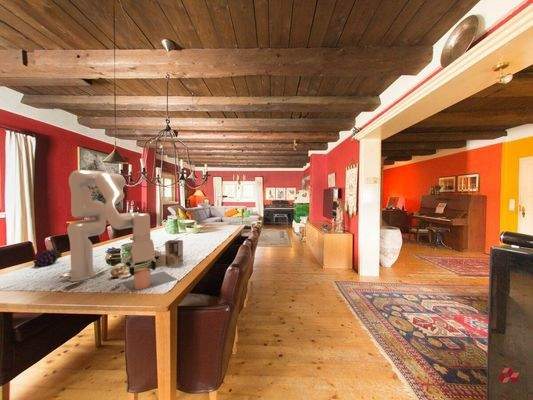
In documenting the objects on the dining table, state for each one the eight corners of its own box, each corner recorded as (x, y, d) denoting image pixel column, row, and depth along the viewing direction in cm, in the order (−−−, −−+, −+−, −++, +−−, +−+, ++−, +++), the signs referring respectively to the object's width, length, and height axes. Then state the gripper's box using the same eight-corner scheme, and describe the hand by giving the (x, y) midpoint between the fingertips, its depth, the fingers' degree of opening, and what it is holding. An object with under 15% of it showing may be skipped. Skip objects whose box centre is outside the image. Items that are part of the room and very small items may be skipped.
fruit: (32, 272, 140) (53, 259, 155) (48, 270, 140) (68, 257, 154) (24, 258, 137) (47, 246, 152) (41, 255, 137) (62, 244, 151)
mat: (132, 294, 106) (132, 292, 106) (120, 283, 118) (120, 282, 118) (177, 280, 122) (177, 279, 122) (163, 272, 134) (163, 271, 134)
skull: (139, 272, 132) (130, 262, 125) (128, 289, 125) (118, 280, 117) (122, 269, 134) (112, 260, 127) (111, 286, 127) (99, 277, 120)
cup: (137, 290, 109) (137, 273, 108) (132, 286, 113) (132, 270, 113) (152, 285, 114) (152, 270, 113) (147, 282, 118) (146, 266, 118)
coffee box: (183, 264, 149) (183, 240, 148) (178, 267, 142) (178, 242, 142) (170, 263, 150) (170, 239, 149) (165, 267, 143) (164, 241, 143)
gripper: (124, 242, 103) (126, 278, 104) (162, 236, 116) (163, 269, 117) (119, 239, 109) (121, 275, 109) (156, 234, 121) (157, 266, 122)
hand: (143, 271), depth 113 cm, fingers open, 9 cm apart
